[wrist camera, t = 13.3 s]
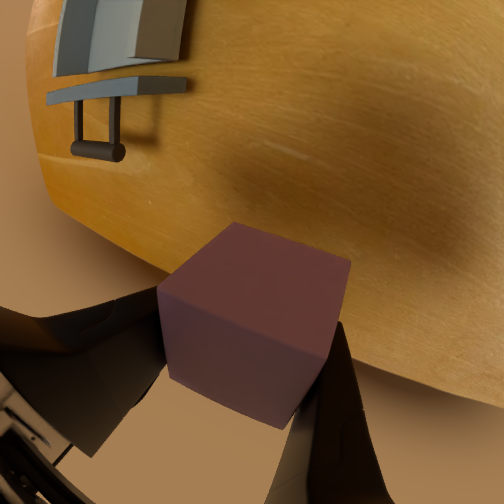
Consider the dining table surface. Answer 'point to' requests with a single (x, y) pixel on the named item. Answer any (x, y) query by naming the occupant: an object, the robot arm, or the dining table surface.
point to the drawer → (114, 58)
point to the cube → (252, 320)
